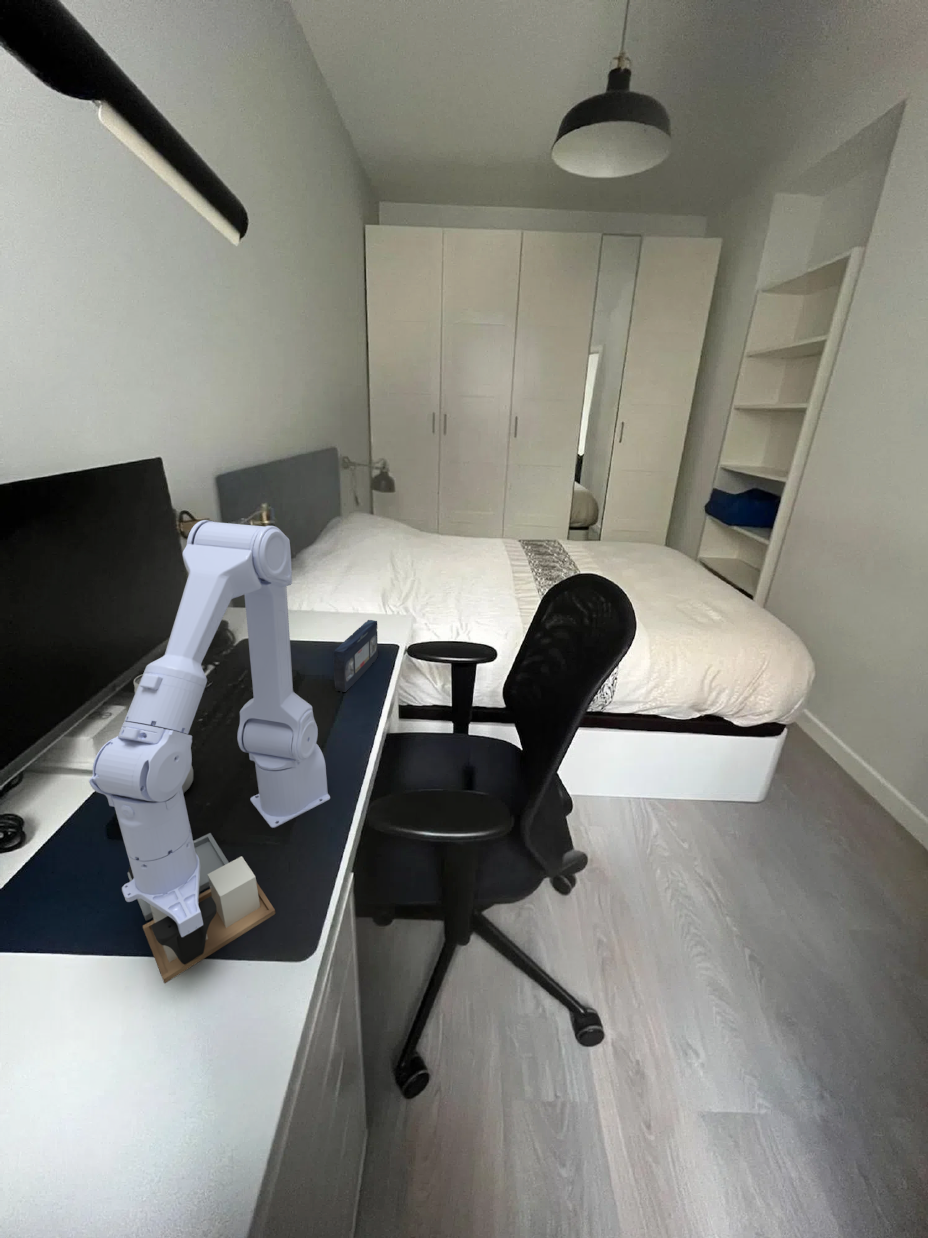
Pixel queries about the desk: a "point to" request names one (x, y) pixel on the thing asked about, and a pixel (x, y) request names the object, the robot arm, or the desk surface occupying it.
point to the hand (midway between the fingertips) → (181, 931)
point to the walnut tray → (209, 936)
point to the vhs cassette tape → (355, 655)
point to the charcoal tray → (209, 862)
